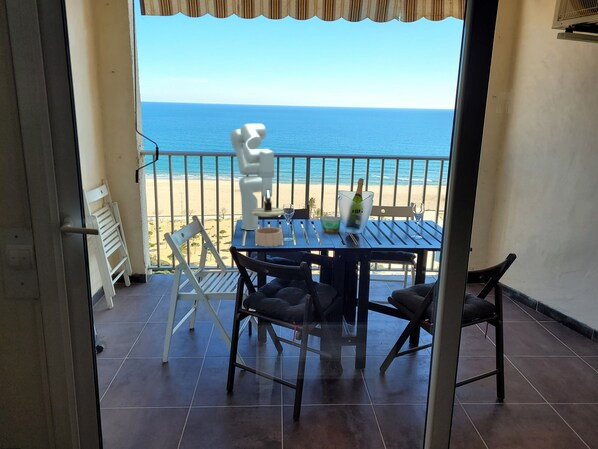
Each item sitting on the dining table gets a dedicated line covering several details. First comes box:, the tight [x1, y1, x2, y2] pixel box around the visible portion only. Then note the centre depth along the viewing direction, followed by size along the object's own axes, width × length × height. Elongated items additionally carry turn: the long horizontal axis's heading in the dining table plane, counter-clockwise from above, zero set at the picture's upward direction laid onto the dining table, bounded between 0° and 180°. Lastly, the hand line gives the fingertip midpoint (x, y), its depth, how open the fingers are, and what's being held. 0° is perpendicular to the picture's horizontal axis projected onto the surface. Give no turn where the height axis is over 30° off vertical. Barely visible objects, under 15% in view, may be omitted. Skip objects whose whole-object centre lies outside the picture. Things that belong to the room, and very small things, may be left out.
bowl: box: [254, 226, 283, 247], centre depth 237 cm, size 14×14×7 cm
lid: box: [252, 200, 285, 218], centre depth 233 cm, size 17×17×6 cm
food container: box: [320, 215, 343, 235], centre depth 254 cm, size 12×6×10 cm, turn 82°
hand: (267, 208), depth 233 cm, fingers closed on lid, 4 cm apart
